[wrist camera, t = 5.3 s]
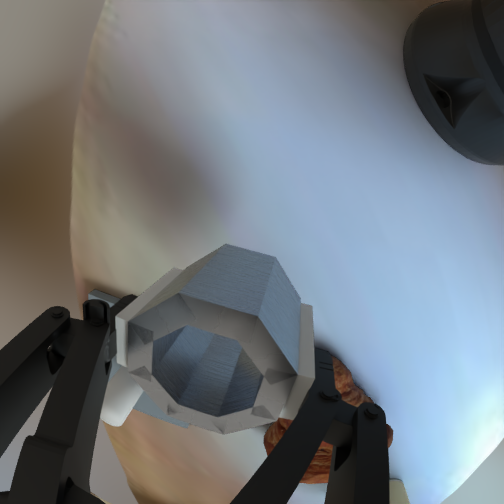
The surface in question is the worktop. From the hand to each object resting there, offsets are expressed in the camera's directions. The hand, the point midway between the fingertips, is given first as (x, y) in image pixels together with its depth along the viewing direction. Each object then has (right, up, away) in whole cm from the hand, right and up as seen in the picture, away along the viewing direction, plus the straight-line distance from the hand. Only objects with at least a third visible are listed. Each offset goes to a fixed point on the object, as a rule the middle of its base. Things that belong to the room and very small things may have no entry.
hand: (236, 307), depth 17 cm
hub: (0, 0, 0) cm, 0 cm away
